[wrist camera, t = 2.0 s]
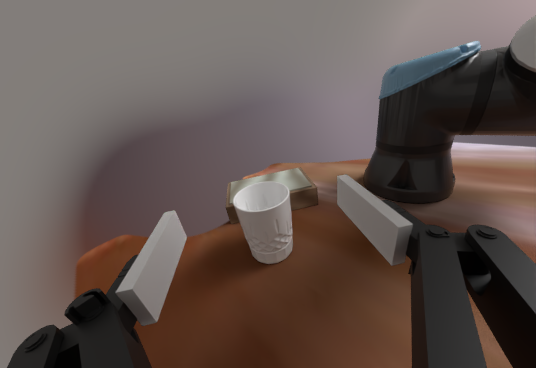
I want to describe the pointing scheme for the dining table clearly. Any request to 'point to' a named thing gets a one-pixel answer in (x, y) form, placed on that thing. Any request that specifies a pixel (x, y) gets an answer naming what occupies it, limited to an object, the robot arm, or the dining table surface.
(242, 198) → the white cup
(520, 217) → the dining table surface
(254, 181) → the board
